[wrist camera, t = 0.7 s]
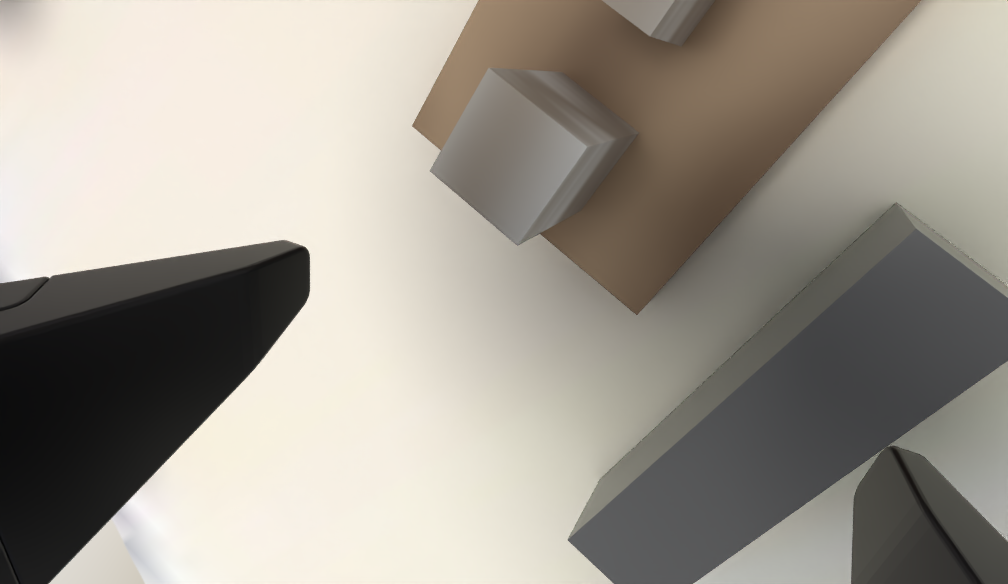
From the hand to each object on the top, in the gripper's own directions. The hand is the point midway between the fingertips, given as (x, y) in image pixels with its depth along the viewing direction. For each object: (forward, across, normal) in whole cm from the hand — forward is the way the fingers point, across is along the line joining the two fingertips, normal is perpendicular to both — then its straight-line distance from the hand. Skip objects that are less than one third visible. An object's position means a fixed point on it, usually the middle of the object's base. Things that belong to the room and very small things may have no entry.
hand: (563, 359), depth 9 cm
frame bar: (+11, -6, +7) cm, 14 cm away
